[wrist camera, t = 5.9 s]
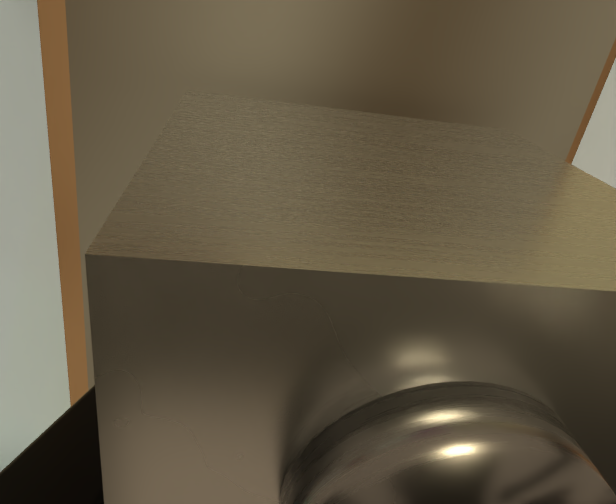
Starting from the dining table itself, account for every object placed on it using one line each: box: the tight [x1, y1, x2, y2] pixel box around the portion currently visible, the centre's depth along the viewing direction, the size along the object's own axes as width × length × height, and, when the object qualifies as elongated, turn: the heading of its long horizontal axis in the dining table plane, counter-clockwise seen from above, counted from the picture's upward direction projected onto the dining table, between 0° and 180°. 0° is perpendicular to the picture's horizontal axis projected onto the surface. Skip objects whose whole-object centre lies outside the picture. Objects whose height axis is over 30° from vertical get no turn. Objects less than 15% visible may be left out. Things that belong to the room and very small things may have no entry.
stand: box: [37, 0, 616, 406], centre depth 11 cm, size 10×16×3 cm, turn 171°
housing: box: [85, 90, 616, 504], centre depth 7 cm, size 8×5×6 cm, turn 172°
